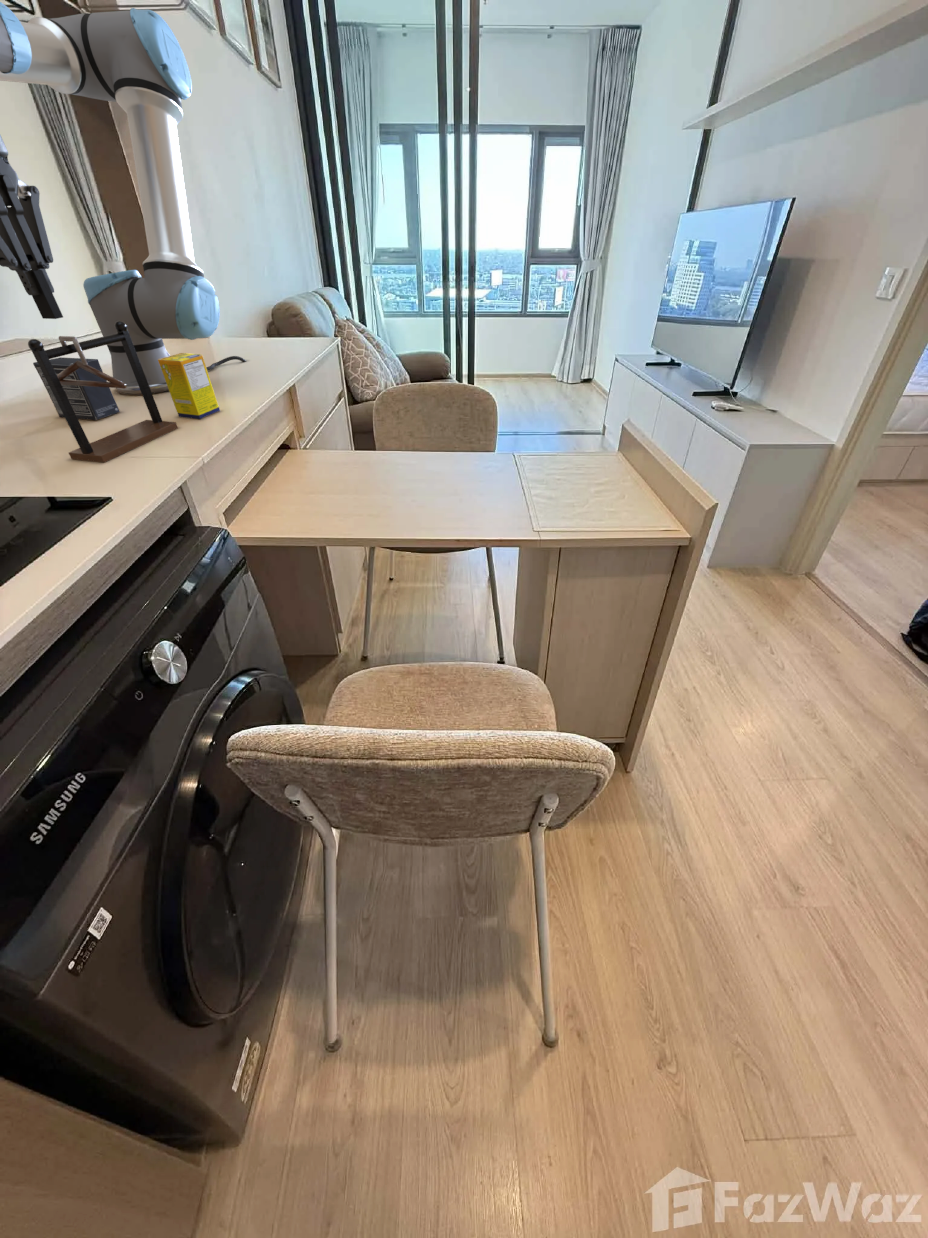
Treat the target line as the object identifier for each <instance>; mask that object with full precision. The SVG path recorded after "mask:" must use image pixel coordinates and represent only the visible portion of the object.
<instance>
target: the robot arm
mask: <svg viewBox="0 0 928 1238" xmlns="http://www.w3.org/2000/svg"><path fill="white" fill-rule="evenodd" d="M0 81H1V82H9V83H20V84H21V83H22V84H33V85H42V86H43V85H45V86H48V87H50V89H53V90H54V91H56V92H57V93H60V94H64V95H73V96H78V97H79V96H80V97H85V98H89V99H95V100H100V101H106V102H116V103H117V104H118V106H119V107H120V108H121V109H122V111H124V113H126V119H127V124H128V131H129V136H130V143H131V148H132V156H133V162H134V168H135V175H136V181H137V187H138V193H139V199H140V207H141V212H142V218H143V224H144V225H143V226H144V231H145V237H146V244H147V250H148V256H147V257H146V259H145V260H144V261H142V268H143V269H142V270H143V275H144V276H143V277H142V275H141V274H140V272H139V271H138V270H137V269H128V270H123V271H116V272H111V273H105V274H99V275H95V276H91V277H87V278H86V279H84V281H83V283H82V285H83V290H84V292H85V296H86V298H87V303H88V305H89V308H90V310H91V311H92V314H93V316H94V318H95V322H96V324H97V326H98V327H99V330H100V332H101V335H102V337H104V336H108V335H113V334H117V333H118V332H117V330H116V328H115V323H116V322H117V321H122V322H124V323H125V324H126V326H127V330H128V332H129V335H130V337H131V340H132V343H133V345H134V348H135V350H136V353H137V356H138V358H139V361H140V363H141V366H142V369H143V371H144V374H145V377H146V379H147V382H148V384H149V387H150V390H151V392H152V394H158V393H163V392H164V393H165V392H170V391H169V389H168V386H167V383H166V381H165V378H164V375H163V372H162V370H161V367H160V364H159V361H158V359H161V358H165V357H168V356H171V354H170V353H169V351H168V350H167V349H166V345H165V343H164V341H163V340H175V339H176V340H191V341H193V340H197V339H206V338H210V337H211V336H212V335H214V333H215V331H216V330H217V329H218V326H219V324H220V315H221V313H220V312H221V311H220V310H221V309H220V302H219V298H218V295H217V294H216V289H215V287H214V286H213V284H212V283H211V282H210V280H208V278H205V275H204V274H205V273H204V270H203V269H201V267H199V265H198V264H197V263H196V262H195V256H194V255H195V254H194V248H193V240H192V233H191V225H190V218H189V217H190V216H189V210H188V203H187V194H186V189H185V180H184V174H183V166H182V157H181V152H180V145H179V144H180V143H179V137H178V136H179V135H178V127H177V126H178V125H179V124H180V123H181V122H182V121H183V118H184V112H183V105H182V100H184V101H185V100H187V99H189V98H190V97H191V96H192V93H193V83H192V76H191V72H190V68H189V65H188V62H187V59H186V57H185V54H184V51H183V49H182V48H181V44H180V43H179V41H178V39H177V37H176V36H175V34H174V32H173V29H171V27H170V26H169V24H168V23H167V22H166V20H164V18H163V17H162V16H161V15H160V14H158V13H157V12H155V11H154V10H151V9H137V8H135V7H132V8H130V10H116V11H115V10H114V11H101V12H100V11H99V12H83V13H77V14H72V15H67V16H61V17H52V18H47V17H42V16H35V17H32V18H30V19H29V20H28V21H27V22H26V21H21V20H20V19H19V18H18V17H17V15H16V14H15V13H14V12H13V11H12V10H11V9H10V7H8V6H7V5H6V4H4V3H3V2H2V1H0ZM8 158H9V151H8V149H7V147H6V145H5V142H4V139H3V137H2V135H1V134H0V266H1V267H3V268H8V269H9V270H10V271H15V272H16V274H17V276H18V279H19V280H20V282H21V284H22V286H23V288H24V291H25V292H26V294H27V295H28V296H31V297H32V299H33V301H34V303H35V306H36V307H37V310H38V311H39V314H40V316H41V318H42V319H45V320H47V319H49V320H57V319H62V318H64V316H63V315H64V314H63V313H62V311H61V309H60V306H59V304H58V303H57V300H56V298H55V295H54V293H55V288H54V286H53V284H52V282H51V279H50V277H49V275H48V272H47V270H49V269H50V264H53V263H54V257H53V253H52V250H51V249H52V248H51V245H50V241H49V237H48V234H47V229H46V226H45V222H44V219H43V215H42V210H41V207H40V194H41V193H40V190H39V188H38V187H37V186H36V185H29V184H27V183H25V182H24V181H23V180H21V179H20V178H19V175H18V173H17V171H16V170H15V169H14V168H13V166H12V165H11V163H10V161H9V159H8ZM106 347H107V349H108V352H109V354H110V359H111V370H112V371H111V372H112V377H113V378H115V379H117V380H119V381H121V382H123V383H125V384H126V388H125V389H123V388H115V390H116V392H117V393H118V394H120V395H125V396H127V395H128V396H141V395H142V393H141V390H140V388H139V385H138V383H137V380H136V378H135V375H134V373H133V370H132V368H131V365H130V362H129V360H128V357H127V355H126V352H125V350H124V347H123V345H122V342H121V341H120V342H116V343H112V344H108V345H106ZM234 360H237V361H240V362H242V363H246V362H247V360H246V359H245V358H243V357H241V356H237V355H231V356H227V357H224V358H223V359H220V360H219V361H217V362H213V363H211V364H210V365H209V366H206V368H207V372H209V371H212V370H214V368H215V367H218V366H221V365H223V364H226V363H228V362H229V361H234ZM142 396H143V395H142Z"/></svg>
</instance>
